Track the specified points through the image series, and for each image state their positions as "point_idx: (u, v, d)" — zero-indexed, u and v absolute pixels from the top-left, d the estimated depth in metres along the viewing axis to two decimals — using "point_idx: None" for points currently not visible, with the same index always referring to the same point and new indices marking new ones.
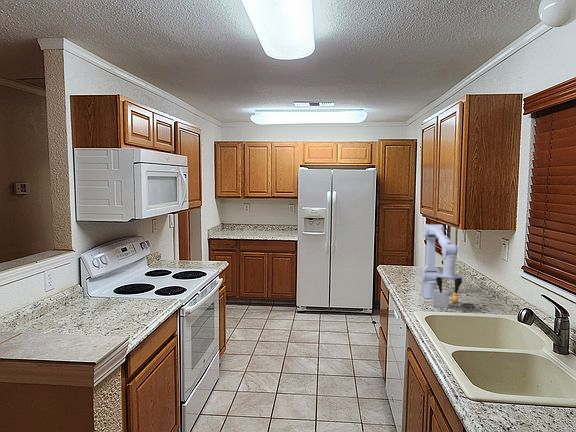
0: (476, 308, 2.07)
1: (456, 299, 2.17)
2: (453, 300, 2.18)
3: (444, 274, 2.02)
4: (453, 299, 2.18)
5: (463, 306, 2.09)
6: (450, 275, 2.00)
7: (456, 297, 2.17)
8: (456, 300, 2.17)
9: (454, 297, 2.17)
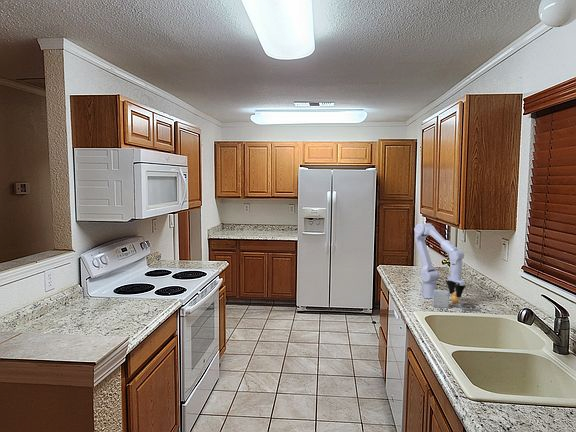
0: (476, 308, 2.07)
1: (456, 299, 2.17)
2: (453, 300, 2.18)
3: None
4: (453, 299, 2.18)
5: (463, 306, 2.09)
6: (451, 278, 2.18)
7: (456, 297, 2.17)
8: (456, 300, 2.17)
9: (454, 297, 2.17)
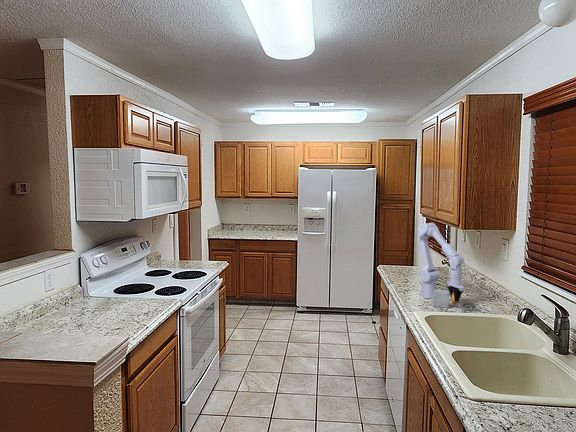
0: (476, 308, 2.07)
1: None
2: (453, 300, 2.18)
3: None
4: (453, 299, 2.18)
5: (463, 306, 2.09)
6: (450, 283, 2.18)
7: None
8: None
9: None
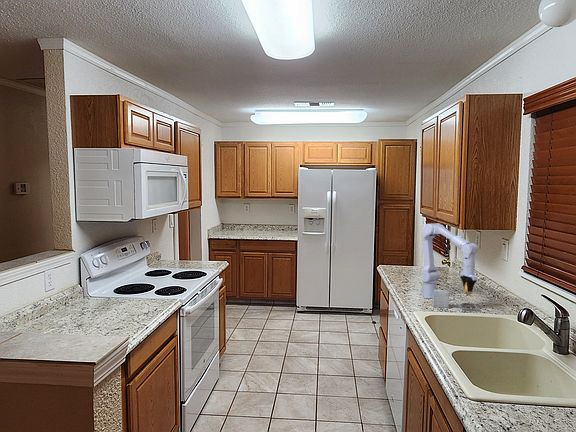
0: (476, 308, 2.07)
1: None
2: (466, 290, 2.10)
3: None
4: (466, 289, 2.10)
5: (463, 306, 2.09)
6: (463, 272, 2.10)
7: None
8: None
9: None
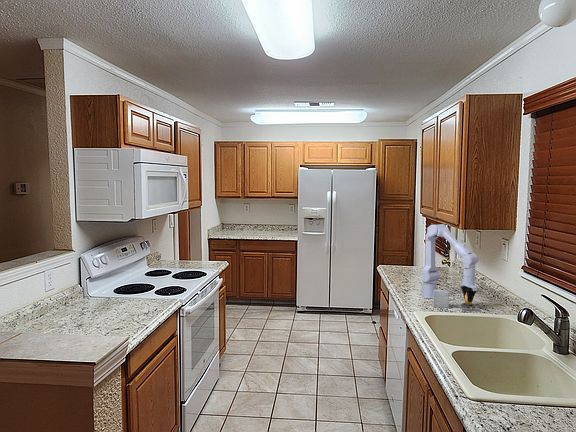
0: (476, 308, 2.07)
1: None
2: (466, 300, 2.10)
3: None
4: (466, 299, 2.10)
5: (463, 306, 2.09)
6: (463, 283, 2.10)
7: None
8: None
9: None
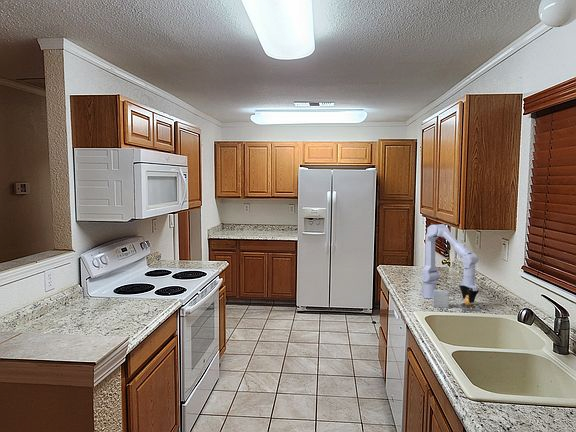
0: (476, 308, 2.07)
1: None
2: (466, 303, 2.10)
3: None
4: (466, 302, 2.10)
5: (463, 306, 2.09)
6: (463, 283, 2.10)
7: None
8: (469, 303, 2.09)
9: (467, 300, 2.09)
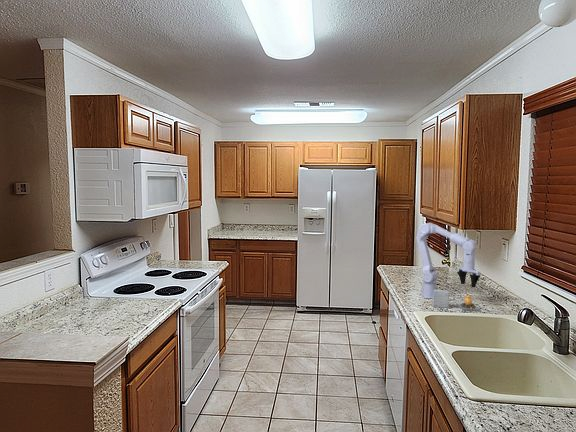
0: (476, 308, 2.07)
1: (469, 302, 2.09)
2: (466, 303, 2.10)
3: None
4: (466, 302, 2.10)
5: (463, 306, 2.09)
6: (465, 268, 2.16)
7: (469, 300, 2.09)
8: (469, 303, 2.09)
9: (467, 300, 2.09)
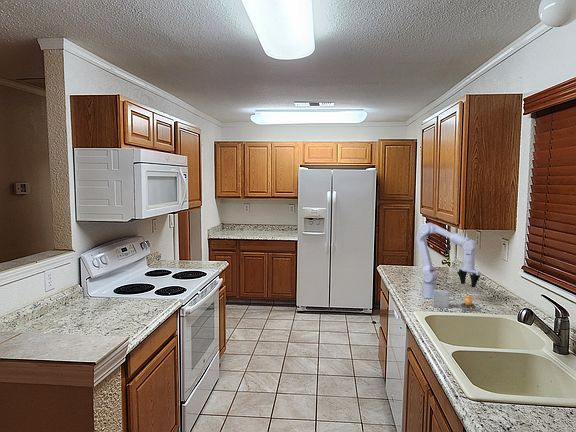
0: (476, 308, 2.07)
1: (469, 302, 2.09)
2: (466, 303, 2.10)
3: None
4: (466, 302, 2.10)
5: (463, 306, 2.09)
6: (465, 268, 2.16)
7: (469, 300, 2.09)
8: (469, 303, 2.09)
9: (467, 300, 2.09)
